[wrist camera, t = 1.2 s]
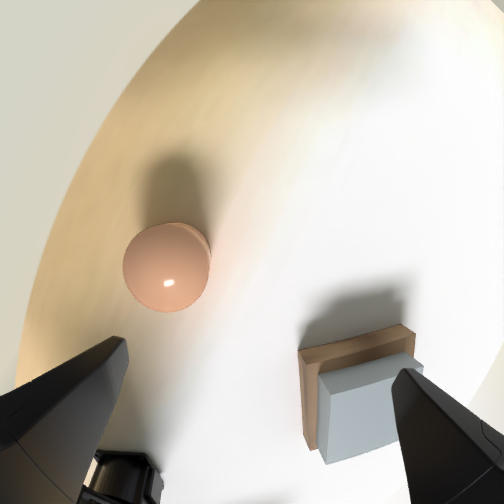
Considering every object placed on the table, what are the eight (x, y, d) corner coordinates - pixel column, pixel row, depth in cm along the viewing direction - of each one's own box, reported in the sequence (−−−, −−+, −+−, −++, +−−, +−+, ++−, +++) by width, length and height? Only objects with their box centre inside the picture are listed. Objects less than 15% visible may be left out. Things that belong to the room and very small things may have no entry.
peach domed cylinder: (150, 294, 21) (132, 316, 16) (138, 228, 20) (116, 232, 15) (215, 285, 21) (215, 306, 16) (205, 217, 21) (201, 218, 16)
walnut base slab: (302, 431, 25) (309, 450, 22) (296, 348, 23) (306, 364, 20) (390, 404, 26) (403, 419, 23) (397, 322, 24) (415, 333, 21)
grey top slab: (315, 443, 22) (325, 464, 19) (317, 374, 21) (331, 394, 18) (392, 419, 23) (407, 436, 20) (404, 351, 21) (423, 365, 18)
